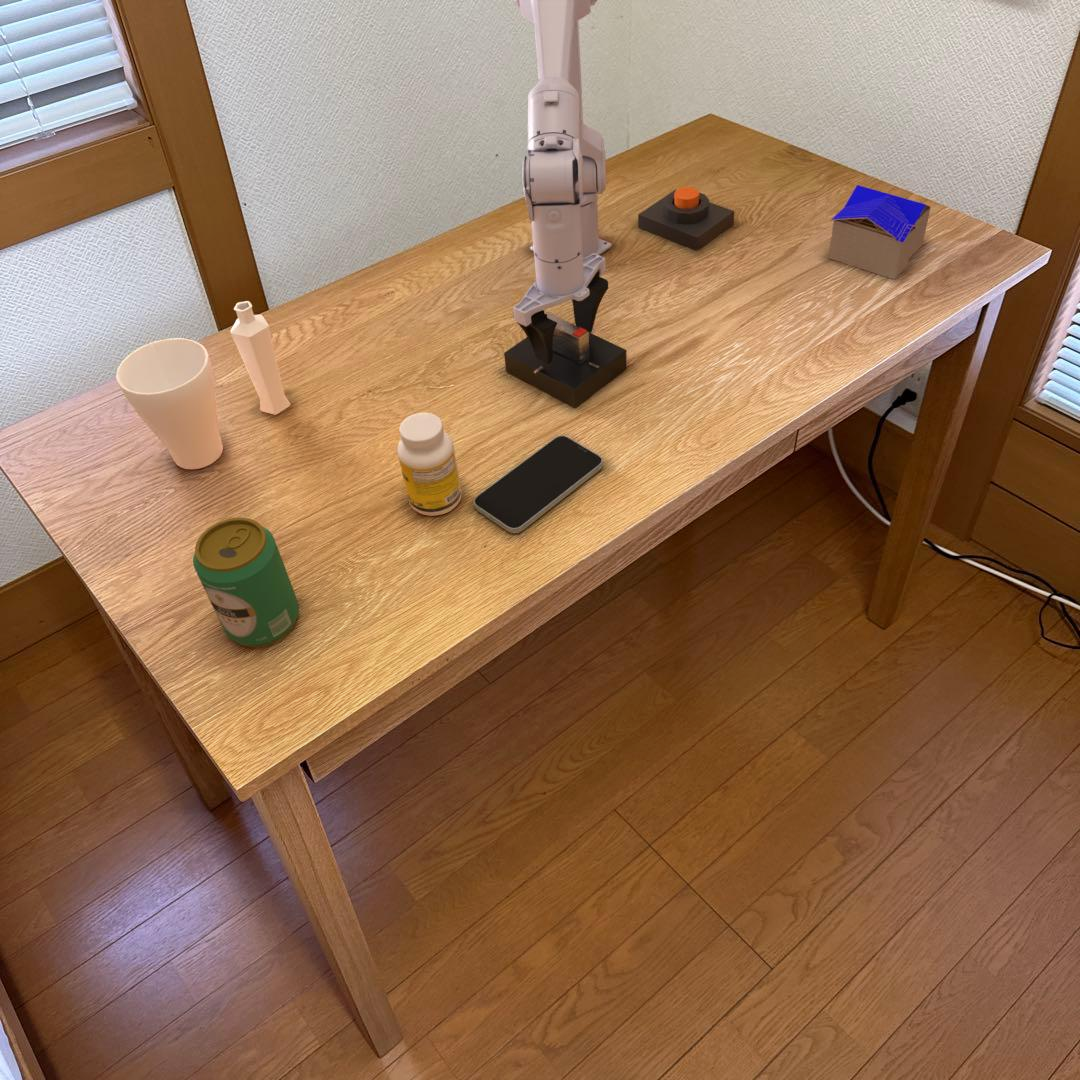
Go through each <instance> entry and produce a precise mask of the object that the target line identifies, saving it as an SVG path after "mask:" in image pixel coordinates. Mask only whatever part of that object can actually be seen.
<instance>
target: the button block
mask: <svg viewBox="0 0 1080 1080" xmlns="http://www.w3.org/2000/svg"><path fill="white" fill-rule="evenodd" d="M676 190H677V189H674V190H673V191H671V192H669V193H668V194H666V195H665V196H663V197H662V198H661V199H659V200H658V201H656V202H655V203H653V204H652V205H650V206H648V207H647V208H646V209H644V210H642V211H641V212H640V213H638V214H637V218H638V219H637V228H638V229H641V230H644V231H646V232H649V233H651V234H653V235H656V236H660V238H664V239H666V240H669V241H671V242H674V243H676V244H678V245H681V246H683V247H686V248H689V249H690V250H694V251H699V250H700V249H702V248H703V247H705V246H706V245H707V244H709V243H710V242H711V241H714V239H716V238H717V237H718V236H720V235H721V234H723V233H724V232H725V231H727V230H728V229H729V228H731V227H732V226H733V225H734V223H735V210H732V209H730V208H727V207H724V206H722V205H719V204H717V203H713V202H711V201H710V199H709V197H707V195H706V194H705V193H702V192H699V205H698V206H697V207H696V208H692V209H680V208H678V207H675V205H674V193H675V191H676Z"/></svg>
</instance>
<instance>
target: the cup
mask: <svg viewBox="0 0 1080 1080" xmlns="http://www.w3.org/2000/svg"><path fill="white" fill-rule="evenodd" d="M209 355H210V354H209V352H208V350H207V348H206V347H205V346H204V345H203V344H201V343H199V342H198V341H196V340H194V339H193V340H192V339H189V338H183V337H182V338H181V337H173V338H163V339H160V340H155V341H152V342H149V343H147V344H145V345H142V346H140V347H138V348H137V349H135V350H133V351H132V352H131V353H129V354H128V355H127V356H126V357H124V359H123V360H122V361H121V362H120V364H119V365H118V367H117V369H116V373H115V378H116V383H117V385H118V386H119V388H120V390H121V392H122V394H123V395H124V397H125V399H126V400H127V401H128V403H129V404H130V406H131V407H132V408H133V410H134V411H135V413H136V414H137V415H138V416H139V418H140V419H141V421H143V423H144V424H145V425H146V426H147V427H148V428H149V429H150V430H151V431H152V433H153V434H154V435H155V436H156V437H157V438H158V440H159V441H160V442H161V443H162V445H163V446H164V447H165V448H166V449H167V451H168V454H169V455H170V456H171V458H172V460H173V461H174V463H175V465H177V466H178V467H179V468H182V469H185V470H199V469H202V468H206V467H208V466H210V465H212V464H214V463H215V462H216V461H217V460H218V459H219V458H220V457H221V456H222V454H223V450H224V446H223V441H222V438H221V434H220V427H219V419H218V418H219V417H218V403H217V402H218V401H217V399H218V398H217V390H216V382H215V375H214V370H213V366H212V363H211V360H210V356H209Z"/></svg>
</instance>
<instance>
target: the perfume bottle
mask: <svg viewBox="0 0 1080 1080" xmlns="http://www.w3.org/2000/svg"><path fill="white" fill-rule="evenodd" d="M233 310H234V311H235V313H236V316H237V318H236V319H235V321H234V324H233V325H232V328H231V329H230V331H229V334H230V335H231V338H232V340H233V342H234V344H235V346H236V349H237V351H238V353H239V356H240V358H241V360H242V363H243V364H244V367H245V369H246V371H247V373H248V376H249V379H250V381H251V383H252V385H253V387H254V389H255V391H256V394H257V396H258V399H259V410H260V412H263V413H267V414H269V415H270V414H271V415H273V416H275V415H278V414H280V413H282V412H283V411H285V410H286V409H287V408H289V407H291V405H292V404H291V403H290V401H289V399H288V398H287V396H286V395H285V390H284V386H283V382H282V378H281V374H280V369H279V364H278V361H277V356H276V351H275V347H274V343H273V339H272V335H271V330H270V325H269V323H268V322H267V320H266V319H265V318H264V316H263V315H262V314H254V311H253V305H252V303H251V302H250V301H249V300H245V301H239V302H237V303H235V306H234V307H233Z"/></svg>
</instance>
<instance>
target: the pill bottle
mask: <svg viewBox="0 0 1080 1080" xmlns="http://www.w3.org/2000/svg"><path fill="white" fill-rule="evenodd" d="M399 435H400V440H399V442H398V444H397V452H396V453H397V458H398V461H399V467H400V470H401V474H402V479H403V483H404V487H405V491H406V495H407V500H408V503H409V505H410V507H411V508H412V509H413V510H414V511H415V512H416V513H418V514H420V515H424V516H429V517H430V516H431V517H433V516H434V517H435V516H441V515H444V514H447V513H450V512H451V511H453V510H454V509H455V508H456V507H457V506H458V504H459V503H460V502H461V499H462V493H463V492H462V485H461V479H460V474H459V469H458V462H457V458H456V453H455V446H454V442H453V439H452V437H451V436H450V434H449V433H447V432H446V431H445V430H444V425H443V422H442V419H441V418H440V417H439V416H438V415H436V414H434V413H431V412H417V413H413V414H411V415H408V416H407V417H405V418H404V420H403V421H402V422H401V423H400V425H399Z"/></svg>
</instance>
